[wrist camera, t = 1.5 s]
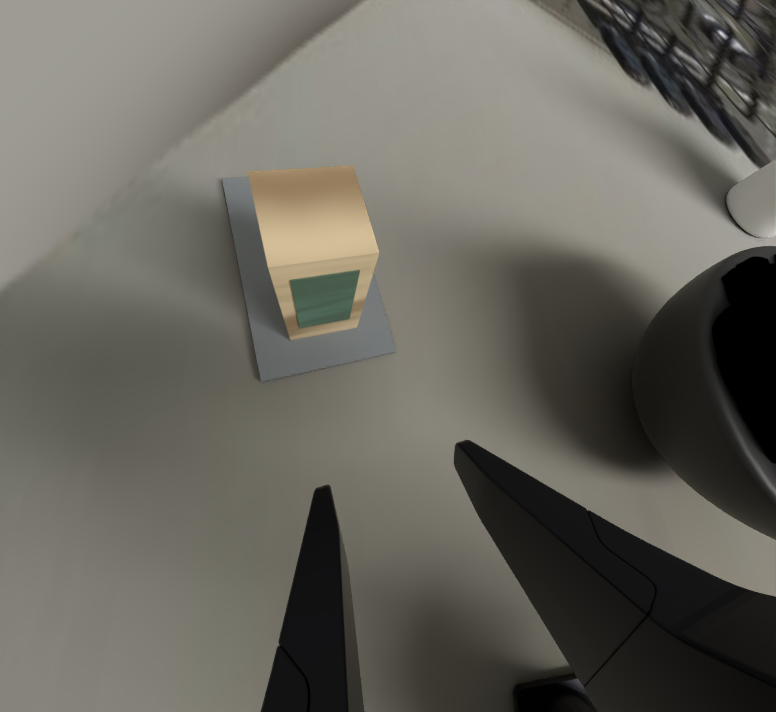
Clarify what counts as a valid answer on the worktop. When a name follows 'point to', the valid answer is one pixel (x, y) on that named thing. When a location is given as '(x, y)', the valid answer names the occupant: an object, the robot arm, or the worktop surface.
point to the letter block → (315, 246)
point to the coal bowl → (717, 385)
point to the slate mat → (265, 313)
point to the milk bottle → (755, 202)
